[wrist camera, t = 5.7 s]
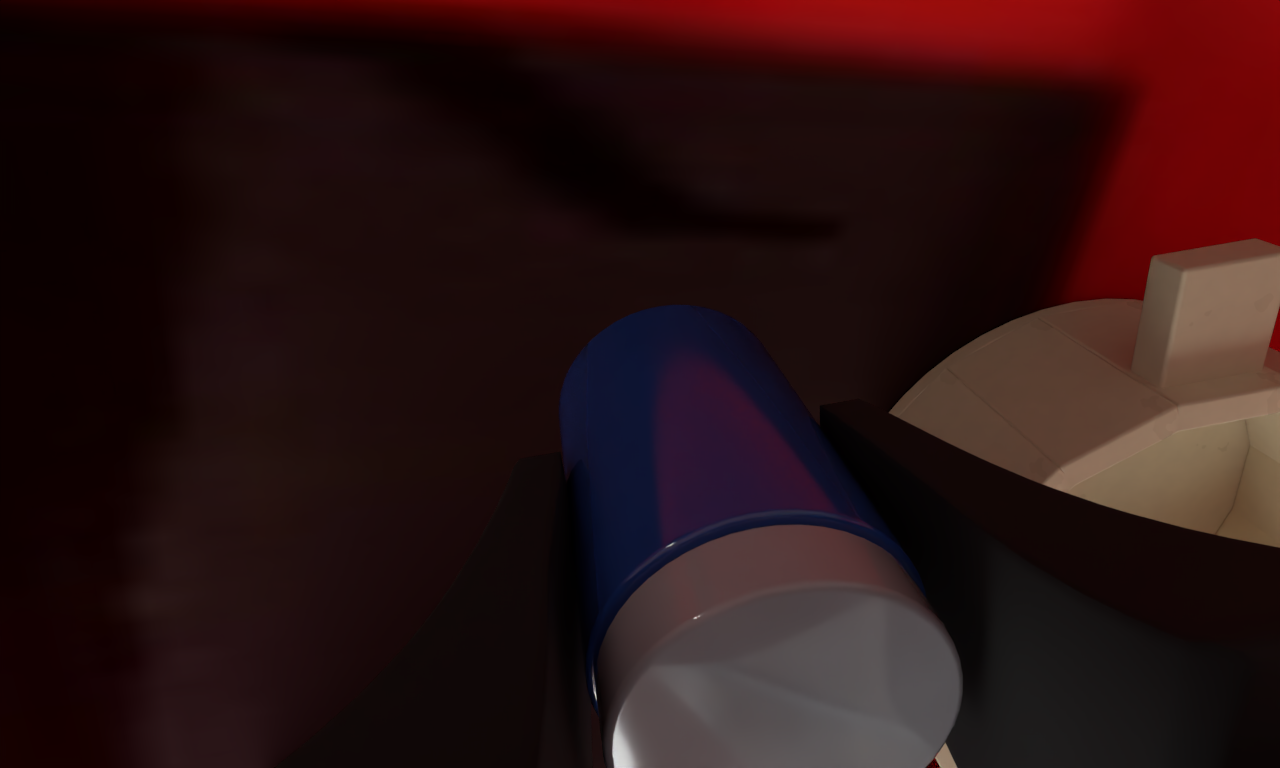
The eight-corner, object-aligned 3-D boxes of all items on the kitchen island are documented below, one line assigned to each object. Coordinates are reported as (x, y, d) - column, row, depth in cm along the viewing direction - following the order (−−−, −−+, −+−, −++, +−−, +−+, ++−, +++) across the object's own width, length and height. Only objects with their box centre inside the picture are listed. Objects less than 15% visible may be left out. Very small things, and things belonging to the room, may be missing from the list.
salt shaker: (577, 516, 15) (621, 888, 9) (539, 323, 13) (563, 622, 7) (782, 479, 15) (962, 813, 9) (773, 285, 13) (993, 540, 7)
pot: (836, 751, 28) (903, 910, 23) (831, 244, 20) (936, 329, 15) (1188, 677, 29) (1323, 815, 24) (1332, 162, 21) (1585, 216, 16)
